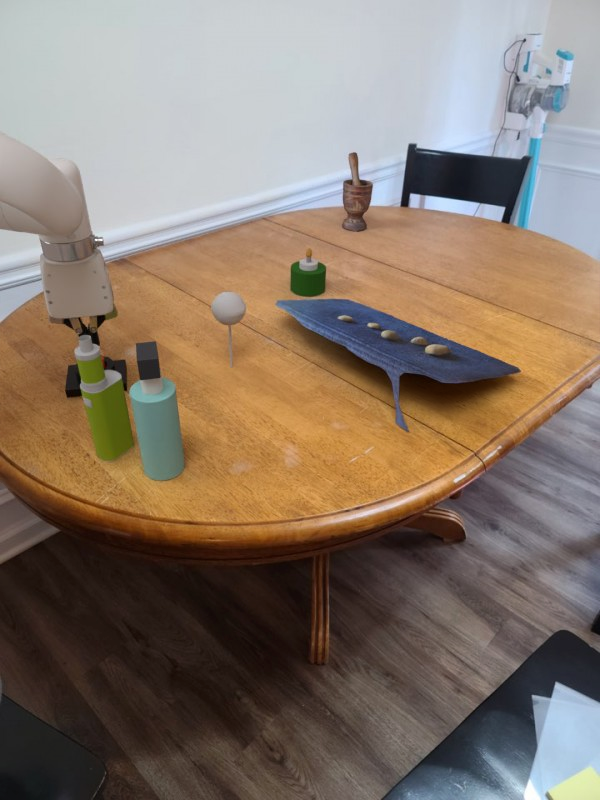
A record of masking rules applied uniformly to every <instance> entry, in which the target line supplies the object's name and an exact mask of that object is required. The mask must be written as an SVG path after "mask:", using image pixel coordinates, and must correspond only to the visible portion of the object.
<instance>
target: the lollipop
mask: <svg viewBox="0 0 600 800" xmlns="http://www.w3.org/2000/svg"><path fill="white" fill-rule="evenodd" d="M210 308H211V312H212V315H213V317H214V319H215V321H217V322H218V323H220V324H221V325H224V326H228V327H227V328H228V344H229V345H228V346H229V365H230V368H233V367H234V361H233V360H234V359H233V339H232V337H233V336H232V326H234V325H237V324H239V323H240V322H241V321H242V320H243V319H244V317H245V314H246V312H247V305H246V303H245V301H244V299H243V297H242V296H241V295H239V294H238V293H237V292H234V291H230V290H229V291H222V292H220V293H219V294H217V295H216V296H215V298H214V299H213V301H212V303H211V307H210Z"/></svg>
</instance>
